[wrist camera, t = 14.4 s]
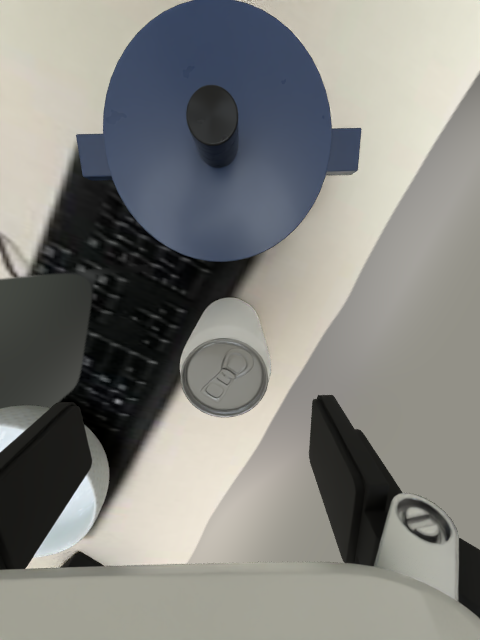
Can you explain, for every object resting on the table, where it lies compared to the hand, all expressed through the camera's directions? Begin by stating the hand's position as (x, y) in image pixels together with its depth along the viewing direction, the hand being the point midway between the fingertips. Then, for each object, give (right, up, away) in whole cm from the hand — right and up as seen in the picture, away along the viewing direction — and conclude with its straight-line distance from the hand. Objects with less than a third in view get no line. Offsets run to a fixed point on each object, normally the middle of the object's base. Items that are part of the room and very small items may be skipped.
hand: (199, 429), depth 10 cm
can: (+1, +4, +18) cm, 18 cm away
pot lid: (0, +15, +5) cm, 16 cm away
